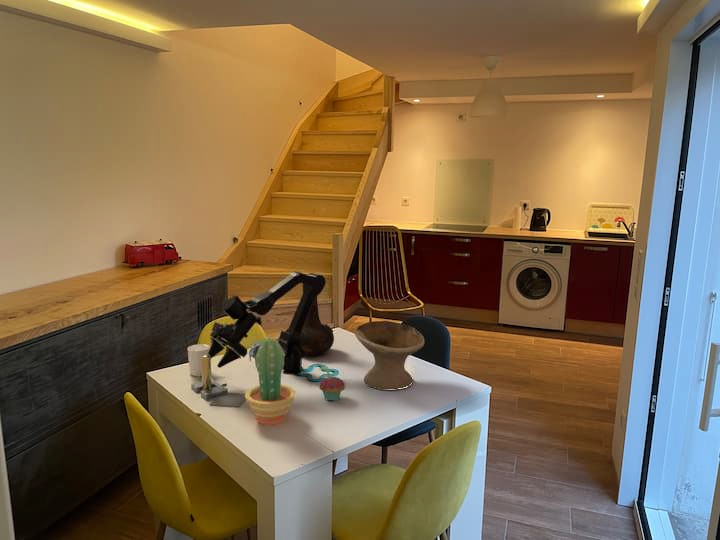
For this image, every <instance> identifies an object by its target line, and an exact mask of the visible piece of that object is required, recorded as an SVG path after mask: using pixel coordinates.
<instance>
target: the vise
mask: <svg viewBox="0 0 720 540" xmlns="http://www.w3.org/2000/svg"><path fill="white" fill-rule="evenodd" d="M227 386H228V384H227V382H225V383H221V384H220V383H219V382H217V381H216V380H215V379H213V378H211V389H206V390H202V380H201V381H197V382H194V383H191V385H190V387H191V390H192V389H193V392H195V393H200V397H201V398H202V399H204V400H205V401H209V400H214V399H215V398H216V397H217V396H220V395H224V394H228V393H229V389H228V388H226V387H227Z"/></svg>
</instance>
